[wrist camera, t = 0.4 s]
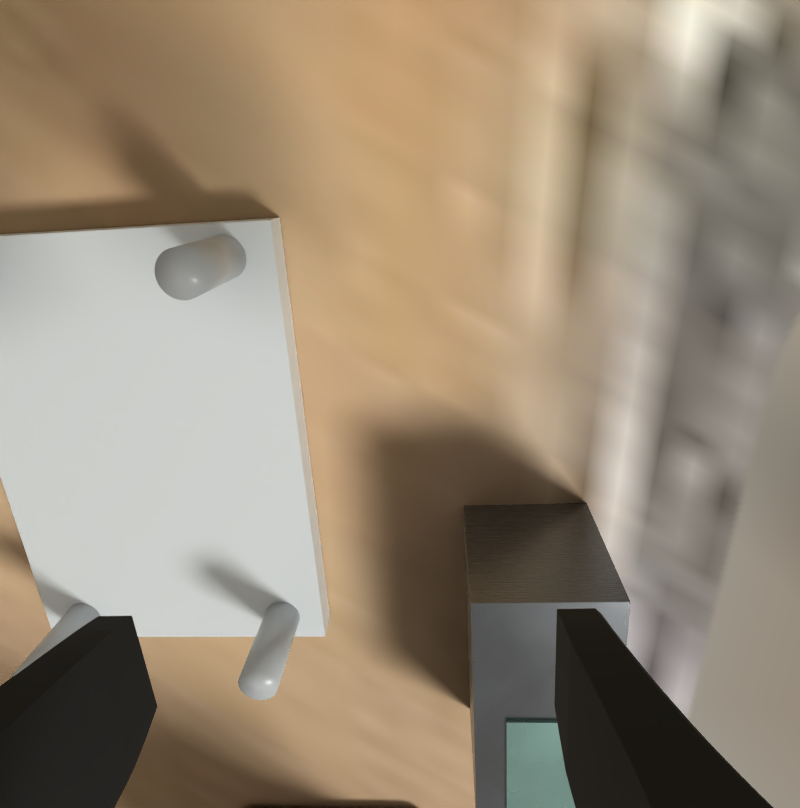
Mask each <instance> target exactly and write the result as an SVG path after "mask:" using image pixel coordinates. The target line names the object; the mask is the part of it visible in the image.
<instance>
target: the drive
mask: <svg viewBox="0 0 800 808" xmlns="http://www.w3.org/2000/svg"><path fill="white" fill-rule="evenodd" d="M464 527H465V559H466V592H467V624H468V657H469V690H470V716H471V735H472V753H473V771H474V789H475V808H575V804H574V800H573V797H572V793H571V789H570V786H569V782H568V778H567V774H566V770H565V765H564V759H563V753H562V748H561V742H560V736H559V730H558V724H557V718H556V712H555V706H554V702H555V663H556V624H557V609H585V608H596V609H597V610H598V611H599V612H600V613H601V614H602V615H603V617H604V618H605V619H606V621H607V622H608V623H609V625H610V626H611V627H612V629H613V630H614V631H615V633H616V634H617V635H618V636H619V638H620V639H621V640H622V642H623V643H624V644H625V645H627V634H628V622H629V611H630V600H629V598H628V596H627V593H626V591H625V589H624V587H623V584H622V582H621V580H620V578H619V575H618V573H617V571H616V569H615V566H614V564H613V562H612V560H611V557H610V555H609V553H608V551H607V548H606V546H605V544H604V542H603V539H602V537H601V535H600V533H599V530H598V528H597V526H596V524H595V521H594V519H593V517H592V515H591V512H590V510H589V508H588V506H587V503H567V504H526V505H484V506H464Z"/></svg>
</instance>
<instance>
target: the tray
mask: <svg viewBox="0 0 800 808" xmlns="http://www.w3.org/2000/svg"><path fill="white" fill-rule="evenodd" d="M0 477H1V480H2V483H3V486H4V489H5V492H6V495H7V498H8V501H9V504H10V507H11V510H12V513H13V516H14V519H15V522H16V525H17V527H18V530H19V533H20V536H21V539H22V542H23V545H24V548H25V551H26V554H27V557H28V560H29V563H30V566H31V569H32V572H33V575H34V578H35V581H36V584H37V587H38V590H39V593H40V596H41V599H42V602H43V605H44V608H45V611H46V614H47V617H48V620H49V623H50V626H51V629H52V630H51V631H50V632H49V633H48V634H47V635H46V637H45V638H44V639H43V640H42V641H41V642H40V644H39V645H38V646H37V647H36V648H35V649H34V651H33V652H32V653H31V654H30V655H29V657H28V658H27V659H26V660H25V661H24V662H23V664H22V665H21V666H20V667H19V668H18V669H17V671H16V672H15V673H14V674H13V676H15V675H16V674H18V673H19V672H20V671H22V670H23V669H24V668H26V667H27V666H29V665H30V664H31V663H33V662H34V661H35V660H37V659H38V658H39V657H41V656H42V655H43V654H45V653H46V652H48V651H49V650H50V649H52V648H53V647H54V646H56V645H57V644H59V643H60V642H61V641H63V640H64V639H65V638H67V637H68V636H70V635H71V634H73V633H74V632H75V631H77V630H78V629H80V628H81V627H83V626H84V625H86V624H87V623H89V622H90V621H92V620H93V619H95V618H96V617H98V616H132V618H133V621H134V625H135V629H136V632H137V636H138V637H255V640H254V642H253V645H252V647H251V650H250V652H249V655H248V657H247V660H246V662H245V665H244V667H243V670H242V672H241V675H240V677H239V681H238V684H239V688H240V689H241V691H242V692H243V693H244V694H245V695H246V696H248V697H250V698H252V699H256V700H266V699H269V698H271V697H273V696H274V695H275V694H276V692H277V690H278V687H279V683H280V680H281V677H282V674H283V671H284V668H285V664H286V661H287V658H288V655H289V652H290V649H291V645H292V642H293V639H294V636H325V635H326V631H327V627H328V623H329V619H330V612H329V604H328V596H327V588H326V581H325V573H324V565H323V557H322V549H321V541H320V533H319V525H318V517H317V509H316V501H315V493H314V485H313V478H312V470H311V462H310V454H309V446H308V438H307V430H306V422H305V414H304V406H303V398H302V390H301V382H300V375H299V367H298V359H297V351H296V343H295V335H294V327H293V319H292V311H291V303H290V295H289V287H288V279H287V272H286V264H285V256H284V248H283V240H282V232H281V224H280V218H265V219H248V220H231V221H215V222H198V223H181V224H165V225H148V226H132V227H115V228H98V229H82V230H65V231H48V232H32V233H15V234H0ZM13 676H12V677H13Z"/></svg>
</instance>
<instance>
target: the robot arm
mask: <svg viewBox="0 0 800 808" xmlns="http://www.w3.org/2000/svg"><path fill="white" fill-rule="evenodd" d="M554 706H555V712H556V718H557V724H558V730H559V736H560V742H561V748H562V753H563V759H564V765H565V770H566V774H567V778H568V782H569V786H570V789H571V793H572V797H573V800H574V804H575V808H773V807H772V806H771V805H770V804H769V803H768V802H767V801H766V800H765V799H764V798H763V797H762V796H761V795H760V794H759V793H758V792H757V791H756V790H755V789H754V788H753V787H751V785H750V784H749V783H748V782H747V781H746V780H745V779H744V778H743V777H741V775H740V774H739V773H738V772H737V771H736V770H735V769H734V768H733V767H732V766H731V765H730V764H729V763H728V762H727V761H726V760H725V759H724V758H723V757H722V756H721V755H720V754H719V753H718V752H717V751H716V749H715V748H714V747H713V746H712V745H711V744H710V743H709V742H708V741H707V740H706V739H705V738H704V737H703V736H702V735H701V733H700V732H699V731H698V730H697V729H696V728H695V727H694V726H693V725H692V724H691V722H690V721H689V720H688V719H687V718H686V717H685V716H684V714H683V713H682V712H681V711H680V710H679V709H678V708H677V707H676V705H675V704H674V703H673V702H672V701H671V700H670V699H669V697H668V696H667V695H666V694H665V693H664V692H663V691H662V689H661V688H660V687H659V686H658V685H657V684H656V682H655V681H654V680H653V679H652V678H651V676H650V675H649V674H648V673H647V672H646V670H645V669H644V668H643V667H642V665H641V664H640V663H639V662H638V660H637V659H636V658H635V657H634V656H633V654H632V653H631V652H630V651H629V649H628V648H627V647H626V645H625V644H624V643H623V642H622V640H621V639H620V638H619V636H618V635H617V634H616V633H615V631H614V630H613V629H612V627H611V626H610V625H609V623H608V622H607V621H606V619H605V618H604V617H603V615H602V614H601V613H600V612H599V611H598V610H597V609H596V608H585V609H557V624H556V663H555V702H554ZM156 708H157V704H156V700H155V697H154V693H153V690H152V686H151V682H150V679H149V675H148V672H147V668H146V664H145V661H144V657H143V654H142V650H141V647H140V643H139V639H138V636H137V632H136V629H135V625H134V621H133V618H132V616H98V617H96V618H95V619H93V620H92V621H90V622H89V623H87V624H86V625H84V626H83V627H81V628H80V629H78V630H77V631H75V632H74V633H73V634H71V635H70V636H68V637H67V638H65V639H64V640H63V641H61V642H60V643H59V644H57V645H56V646H54V647H53V648H52V649H50V650H49V651H48V652H46V653H45V654H43V655H42V656H41V657H39V658H38V659H37V660H35V661H34V662H33V663H31V664H30V665H29V666H27V667H26V668H24V669H23V670H22V671H20V672H19V673H18V674H16V675H15V676H13V677H12V678H11V679H9V680H8V681H7V682H5V683H4V684H2V685H1V686H0V808H114V807H115V805H116V803H117V801H118V799H119V797H120V795H121V794H122V792H123V790H124V788H125V786H126V784H127V782H128V780H129V778H130V775H131V773H132V771H133V769H134V767H135V764H136V762H137V759H138V757H139V754H140V752H141V749H142V747H143V744H144V742H145V739H146V736H147V733H148V731H149V728H150V725H151V722H152V719H153V717H154V714H155V711H156Z"/></svg>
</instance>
